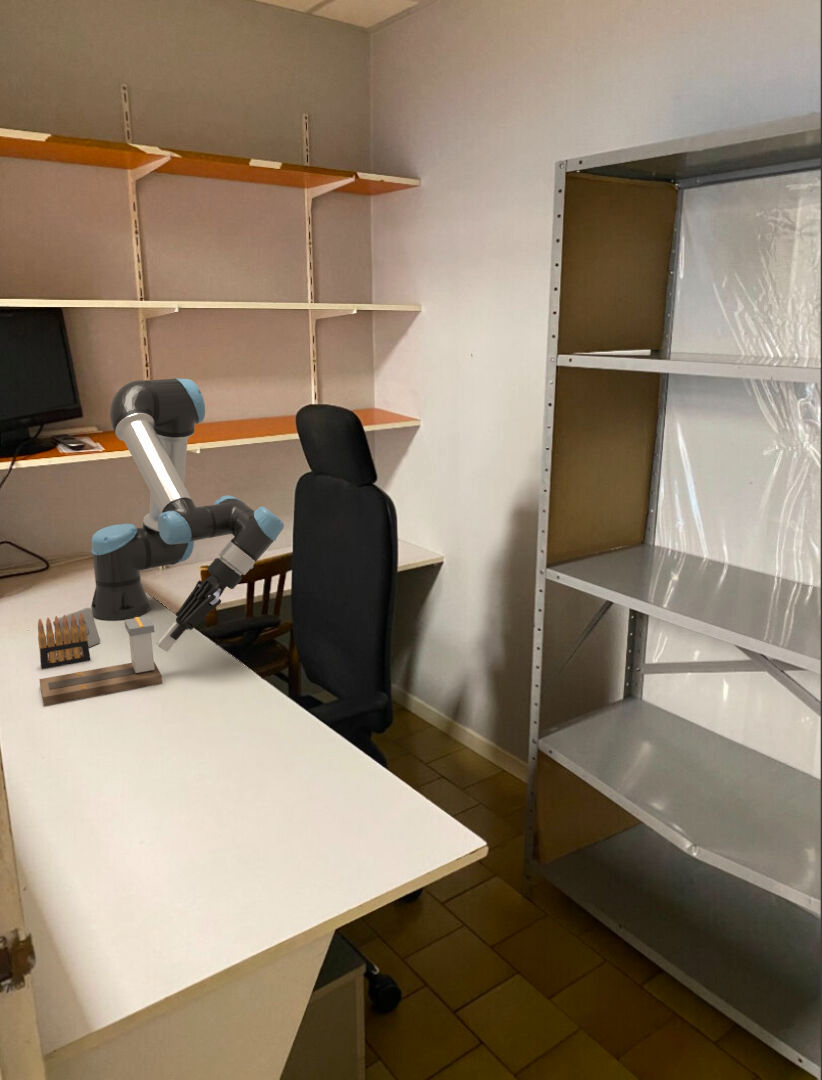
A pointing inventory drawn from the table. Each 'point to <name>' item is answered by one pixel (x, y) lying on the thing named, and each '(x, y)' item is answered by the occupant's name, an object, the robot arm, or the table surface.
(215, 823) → the table surface
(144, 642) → the fader tab
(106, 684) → the fader console
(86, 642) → the ammunition clip
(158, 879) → the table surface
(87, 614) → the electrical switch
